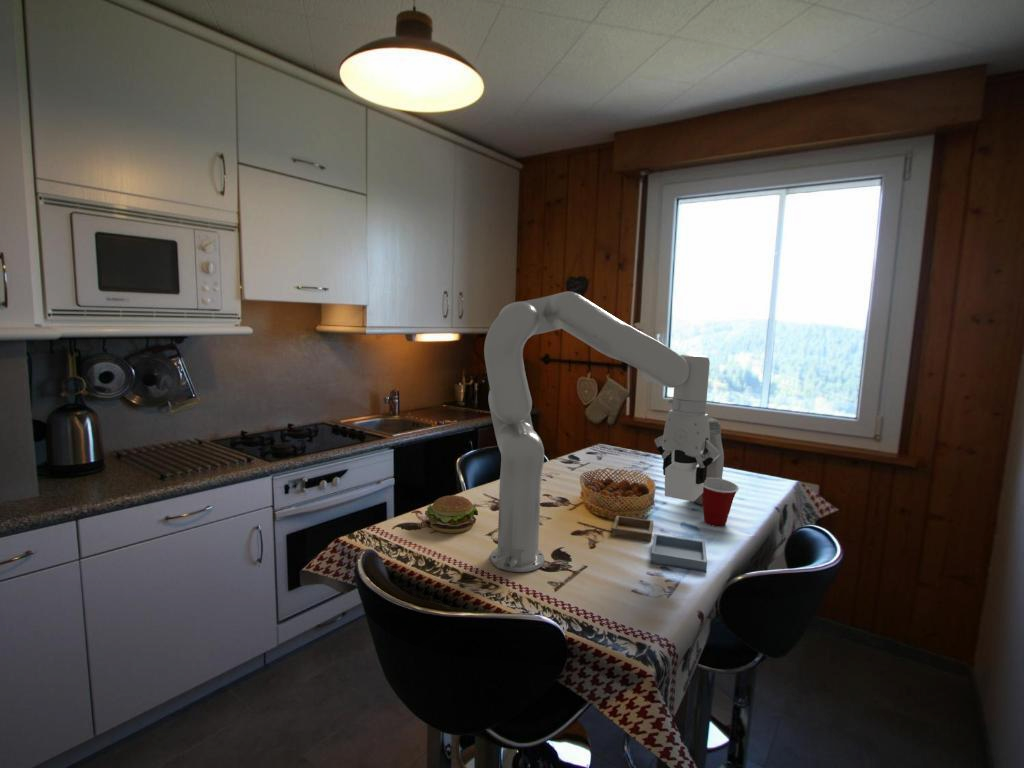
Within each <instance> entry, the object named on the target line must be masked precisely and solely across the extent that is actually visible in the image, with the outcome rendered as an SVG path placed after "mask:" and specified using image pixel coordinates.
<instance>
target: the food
mask: <svg viewBox="0 0 1024 768" xmlns="http://www.w3.org/2000/svg"><path fill="white" fill-rule="evenodd" d="M424 515H425V516H426V518H427V519H428V521H429V523H430V526H431V528H432V529H433V530H434V531H437V532H440V533H443V534H444V533H446V534H458V533H460V534H461V533H463V532H467V531H470V530H471V529H472V528H473V527H474V524H476V520H477V519H476V517H475V516H479V510H477V507H476V506H475V505H473V502H471V500H470V499H468V498H466V497H465V496H462V495H461V496H460V495H455V494H454V495H445V496H442V497H439V498H438V499H436V500H435V501H434V502H433V503H432V504H431V503H430V504H429V505H428V506H427V507H426V510H425V511H424Z"/></svg>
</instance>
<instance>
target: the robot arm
mask: <svg viewBox="0 0 1024 768" xmlns="http://www.w3.org/2000/svg"><path fill="white" fill-rule="evenodd" d="M558 330H563V331H565V332H567V333H568V334H570V335H571V336H573V337H574V338H577V339H578V340H580V341H582V343H585V344H586V345H588V346H590V348H593V349H594V350H596V351H597V352H599V353H600V354H603V355H605V356H607V357H608V358H611V359H614V360H618V361H620V362H623V363H625V364H627V365H629V366H631V367H633V368H635V369H637V370H639V372H640V374H641V376H642V378H644V379H645V380H646V381H647V382H649V383H652V384H654V385H659V386H662V387H666V388H668V389H669V388H670V389H672V388H673V397H672V398H669V399H668V405H671V409H669V410H668V411H667V412H668V413H667V414H666V415H667V416H666V419H665V424H664V430H663V434H662V435H660V436H658V437H657V438H654V443H655V445H656V447H657V450H658V452H659V453H660V455H661V459H662V461H663V463H662V470H663V471H662V472H663V473H662V474H663V476H665V468H666V467H668V466H669V465H670V464H672V452H673V450H681V451H684V452H685V455H687V456H690V457H695V458H696V460H697V462H698V464H699V467H697V469H696V484H701V483H704V482H705V480H706V475H707V467H708V466H709V465H710V464H712V463H713V462H714V461H715V460H716V459H717V458H718V457H719V456H720V454H721V453H720V451H719V450H718V449H717V448H716V447H715V446H714V445H713V444H712V443H711V442H710V427H709V418H708V417H709V414H708V413H706V412H707V401H708V387H709V378H710V377H709V375H710V365H711V364H710V358H709V357H708V356H706V355H703V354H688V353H687V354H685V353H683V354H679V353H677V352H676V351H674V350H673V349H672V348H671V347H669V346H667V345H665V344H663V343H662V342H660V341H659V340H657V339H655V338H653V337H651V336H649V335H648V334H646V333H644V332H642V331H640V330H638V329H637V328H635V327H633V326H632V325H629V324H627V323H626V322H625V321H622V320H621V319H619V318H617V317H616V316H614V315H612V314H611V313H609V312H607V311H606V310H604V309H603V308H601V307H599V306H598V305H597V304H596V303H593V302H592V301H591V300H589V299H587V298H586V297H584V296H582V295H581V294H579V293H577V292H574V291H568V290H567V291H563V292H559V293H555V294H551V295H548V296H542V297H539V298H538V297H537V298H533V299H528V300H524V301H516V302H511V303H509V304H507V305H505V306H504V307H503V308H502V309H501V310H500V311H499V313H498V316H497V317H495V320H493V322H492V323H491V325H490V327H489V329H488V332H487V334H486V337H485V340H484V345H483V346H484V348H483V349H484V350H483V352H484V354H483V355H484V361H485V368H486V374H487V381H488V385H489V391H488V396H487V397H488V399H487V400H488V406H489V411H490V417H491V421H492V425H493V429H494V435H495V439H496V442H497V447H498V450H499V453H500V455H501V456H500V457H501V459H500V460H501V462H500V475H499V489H498V490H499V493H498V495H499V498H498V525H497V527H498V531H497V547H496V548H495V549H494V550H492V551H491V554H490V562H491V563H492V565H494V567H496V568H497V569H501V570H503V571H506V572H512V573H527V572H533V571H535V570H538V569H540V568H541V567H542V566H543V565H544V563H545V555H544V553H543V552H542V551H540V550H539V538H540V537H539V536H540V534H539V533H540V517H541V516H540V515H541V514H540V513H541V490H542V487H541V485H542V476H543V468H544V462H545V461H544V460H545V448H544V444H543V441H542V439H541V437H540V436H539V435H538V433H537V431H535V430H534V426H533V422H532V416H531V412H532V408H533V400H532V396H531V392H530V388H529V387H530V386H529V383H528V379H527V376H526V375H527V374H526V370H525V364H524V363H525V362H524V357H523V355H524V354H523V353H524V347H525V345H526V343H527V341H528V339H531V337H532V336H535V335H540V334H545V333H548V332H549V333H551V332H554V331H558ZM709 451H710V452H711V455H710V457H709V458H707V457H706V454H708V452H709Z"/></svg>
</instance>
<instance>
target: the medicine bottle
mask: <svg viewBox="0 0 1024 768" xmlns="http://www.w3.org/2000/svg"><path fill="white" fill-rule="evenodd" d="M697 467H699V464H698V462H697V460H696V458H695V457H690V456H687V455H685V452H684V451H681V450H673V452H672V464H670V465H669V466H668V467H666V468H665V475H664V496H665V497H668V498H673V499H678V500H682V501H688V502H692V503H693V502H694V501H695V500H696V499H697V498H698V497H699V496H700V495H701V494H702V493H703V483H701V484H696V469H697ZM694 503H695V502H694Z"/></svg>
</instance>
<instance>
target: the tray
mask: <svg viewBox="0 0 1024 768" xmlns="http://www.w3.org/2000/svg"><path fill="white" fill-rule="evenodd" d="M651 546H652V547H651V554H650V564H653V565H660V566H664V567H671V568H678V569H683V570H689V571H695V572H700V573H701V572H702V573H707V569H708V568H707V566H708V560H707V559H708V557H707V547H706V541H704V540H699V539H698V540H697V539H692V538H691V539H690V538H685V537H679V536H678V537H676V536H671V535H664V534H659V533H658V534H657V533H654V534H653V541H652V545H651Z"/></svg>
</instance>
